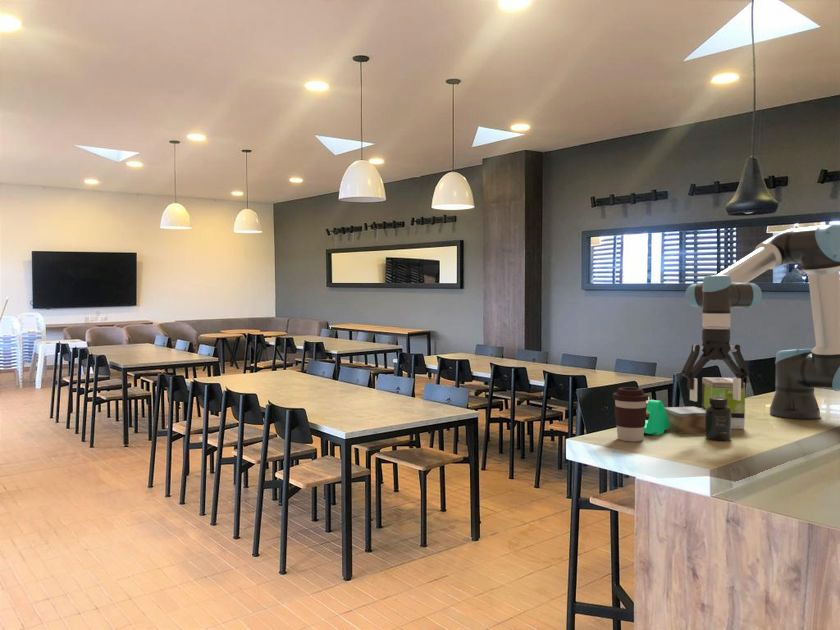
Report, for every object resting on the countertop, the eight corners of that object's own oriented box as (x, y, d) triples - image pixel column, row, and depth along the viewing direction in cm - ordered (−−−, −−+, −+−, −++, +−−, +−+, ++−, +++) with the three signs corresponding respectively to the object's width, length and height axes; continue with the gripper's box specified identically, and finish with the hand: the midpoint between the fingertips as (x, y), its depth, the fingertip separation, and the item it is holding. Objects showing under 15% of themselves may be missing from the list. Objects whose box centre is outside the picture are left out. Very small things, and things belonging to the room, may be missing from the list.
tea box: (745, 429, 202) (746, 382, 202) (711, 428, 204) (711, 382, 204) (732, 420, 217) (732, 376, 216) (700, 419, 219) (700, 376, 219)
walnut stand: (694, 424, 210) (694, 406, 210) (713, 431, 199) (713, 412, 199) (662, 426, 209) (662, 407, 208) (680, 433, 198) (680, 413, 198)
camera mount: (646, 428, 207) (646, 396, 207) (669, 431, 201) (669, 398, 201) (627, 433, 199) (627, 400, 199) (650, 437, 193) (650, 403, 193)
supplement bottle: (735, 438, 189) (735, 398, 189) (724, 442, 185) (725, 400, 184) (711, 435, 194) (711, 395, 194) (701, 438, 190) (701, 398, 190)
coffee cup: (608, 440, 188) (608, 389, 188) (617, 434, 197) (617, 385, 196) (644, 444, 183) (643, 392, 183) (651, 437, 192) (651, 387, 191)
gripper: (747, 327, 194) (746, 397, 195) (669, 327, 191) (668, 399, 192) (763, 328, 187) (762, 401, 187) (682, 328, 184) (681, 403, 184)
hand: (715, 400), depth 190 cm, fingers open, 13 cm apart
